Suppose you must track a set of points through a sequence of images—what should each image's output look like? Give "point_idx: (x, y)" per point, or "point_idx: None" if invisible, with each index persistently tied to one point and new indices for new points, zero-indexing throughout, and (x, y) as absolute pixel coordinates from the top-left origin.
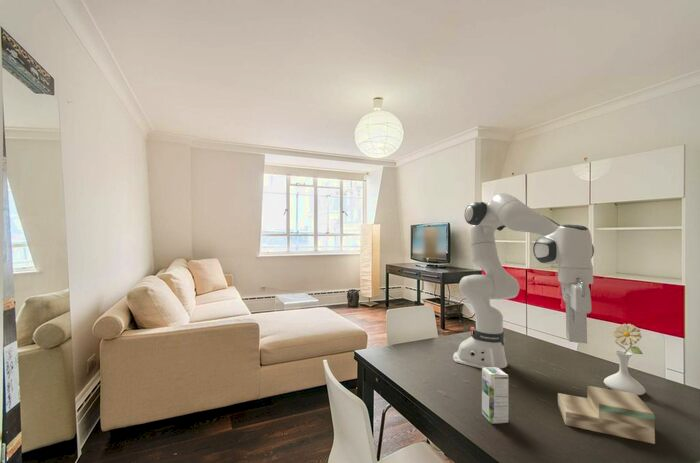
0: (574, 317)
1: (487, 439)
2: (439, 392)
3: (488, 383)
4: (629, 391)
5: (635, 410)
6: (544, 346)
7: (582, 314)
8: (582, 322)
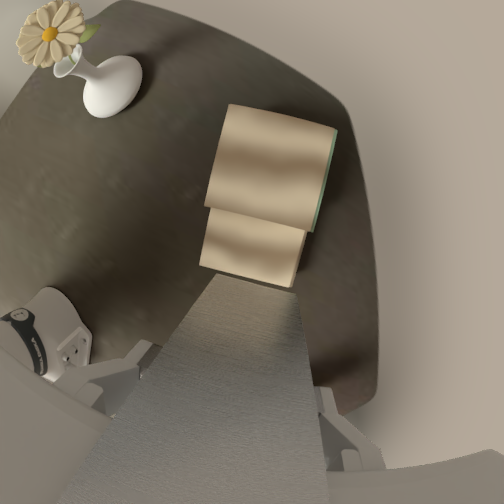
0: None
1: (341, 402)
2: None
3: None
4: (137, 85)
5: (327, 160)
6: None
7: (371, 451)
8: (332, 396)
